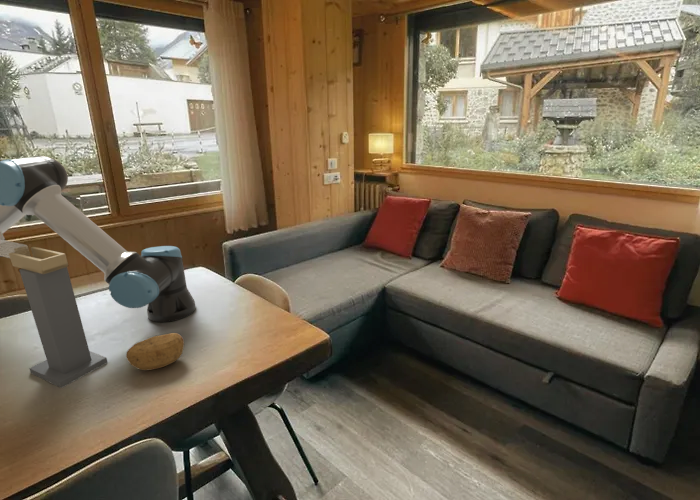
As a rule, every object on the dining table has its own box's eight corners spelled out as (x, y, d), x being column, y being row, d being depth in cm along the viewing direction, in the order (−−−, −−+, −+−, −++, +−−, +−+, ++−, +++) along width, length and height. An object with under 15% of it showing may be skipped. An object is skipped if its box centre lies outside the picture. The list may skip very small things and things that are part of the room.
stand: (107, 362, 111) (79, 249, 101) (61, 387, 101) (24, 265, 91) (77, 350, 118) (47, 243, 107) (30, 373, 108) (-7, 257, 97)
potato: (129, 364, 110) (123, 338, 108) (184, 349, 117) (179, 324, 114) (130, 383, 102) (124, 356, 100) (189, 366, 109) (185, 340, 106)
